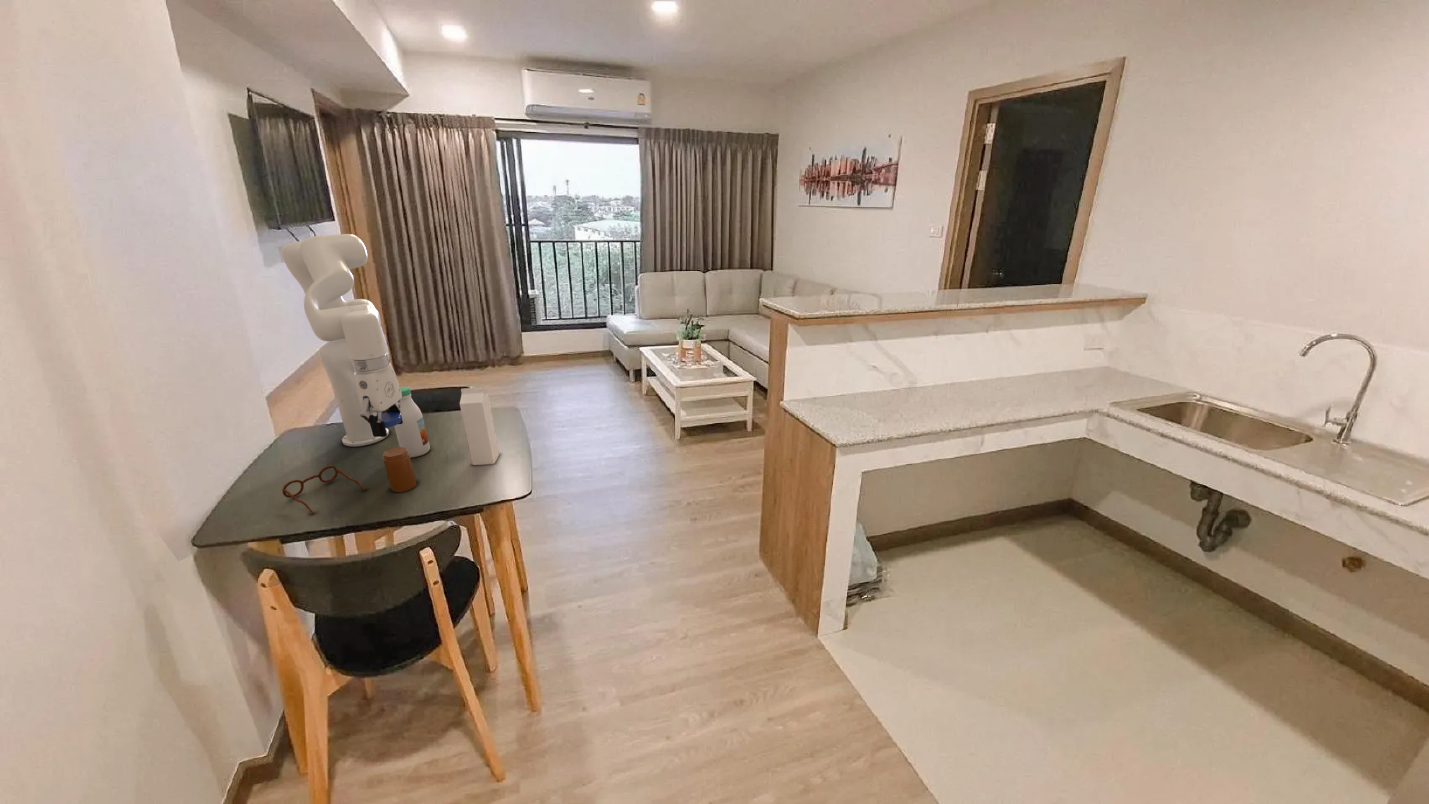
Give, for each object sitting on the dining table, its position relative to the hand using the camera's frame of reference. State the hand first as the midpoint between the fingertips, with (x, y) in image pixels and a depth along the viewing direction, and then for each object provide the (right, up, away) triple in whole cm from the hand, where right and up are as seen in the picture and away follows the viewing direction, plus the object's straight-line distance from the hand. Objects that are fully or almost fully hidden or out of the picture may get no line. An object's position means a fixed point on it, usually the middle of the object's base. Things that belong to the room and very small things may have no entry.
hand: (388, 429), depth 140 cm
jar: (+1, -15, +6) cm, 16 cm away
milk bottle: (-6, -8, +24) cm, 26 cm away
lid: (0, +3, -1) cm, 3 cm away
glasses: (-17, -17, +2) cm, 25 cm away
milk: (+17, -10, +19) cm, 27 cm away
